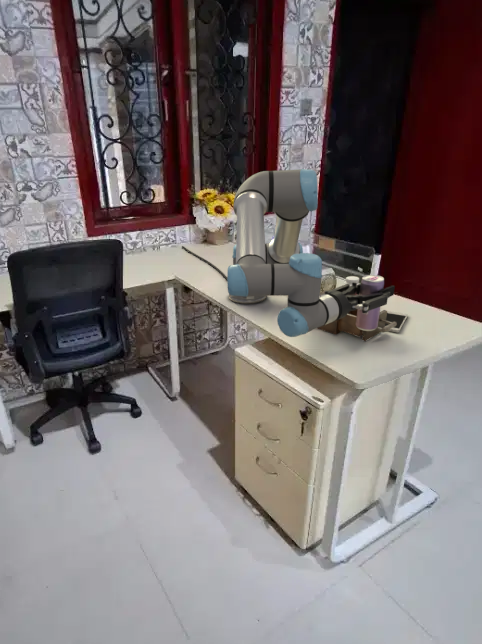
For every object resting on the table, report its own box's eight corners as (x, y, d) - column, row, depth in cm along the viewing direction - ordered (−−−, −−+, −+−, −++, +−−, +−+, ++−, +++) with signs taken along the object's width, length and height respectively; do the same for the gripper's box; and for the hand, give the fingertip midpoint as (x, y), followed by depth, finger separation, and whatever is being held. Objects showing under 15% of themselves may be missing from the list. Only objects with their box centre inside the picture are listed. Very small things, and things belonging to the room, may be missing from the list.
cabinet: (357, 323, 144) (360, 299, 140) (335, 334, 137) (338, 310, 133) (323, 312, 154) (325, 290, 150) (301, 323, 147) (303, 299, 143)
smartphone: (407, 316, 147) (408, 313, 147) (398, 332, 136) (398, 330, 135) (386, 312, 151) (386, 310, 150) (375, 328, 140) (376, 326, 139)
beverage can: (381, 327, 121) (389, 277, 114) (370, 333, 117) (377, 283, 111) (362, 321, 125) (369, 273, 118) (351, 327, 121) (357, 278, 115)
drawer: (398, 334, 133) (401, 314, 130) (379, 346, 127) (382, 325, 124) (350, 319, 145) (352, 301, 142) (330, 329, 139) (332, 310, 136)
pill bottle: (361, 306, 158) (365, 278, 153) (350, 310, 155) (353, 281, 150) (349, 301, 163) (352, 274, 158) (337, 305, 160) (340, 277, 155)
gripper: (300, 310, 116) (352, 291, 127) (358, 333, 102) (411, 308, 113) (301, 285, 113) (355, 267, 124) (361, 304, 98) (416, 282, 110)
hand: (382, 287), depth 119 cm, fingers closed on beverage can, 6 cm apart
